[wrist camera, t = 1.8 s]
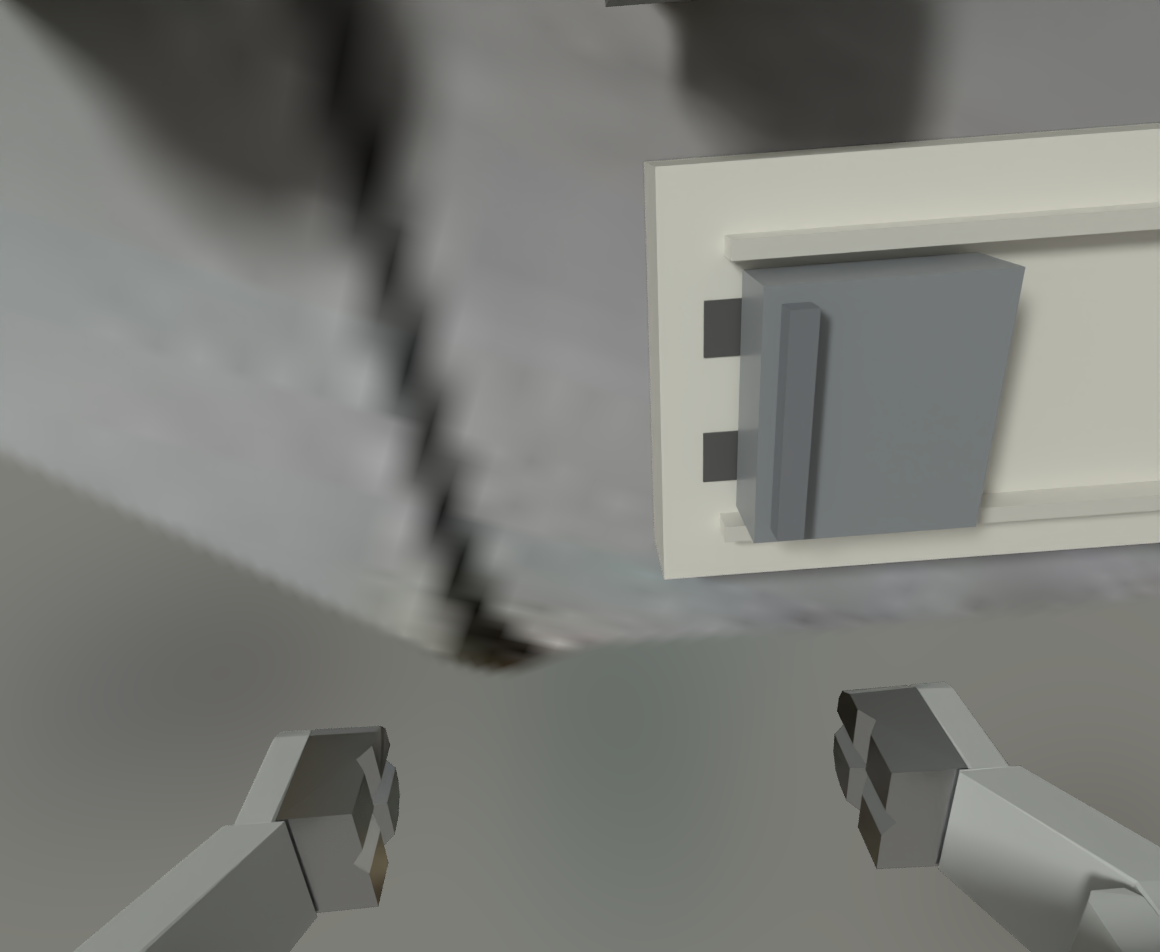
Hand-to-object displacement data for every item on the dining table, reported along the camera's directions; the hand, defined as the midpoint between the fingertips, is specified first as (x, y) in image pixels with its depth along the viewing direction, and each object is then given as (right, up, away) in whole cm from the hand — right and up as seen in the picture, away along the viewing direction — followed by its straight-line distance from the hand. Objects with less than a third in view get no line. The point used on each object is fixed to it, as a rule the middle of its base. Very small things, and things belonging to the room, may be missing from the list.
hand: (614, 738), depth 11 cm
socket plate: (+12, +9, +16) cm, 21 cm away
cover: (+8, +7, +13) cm, 16 cm away
